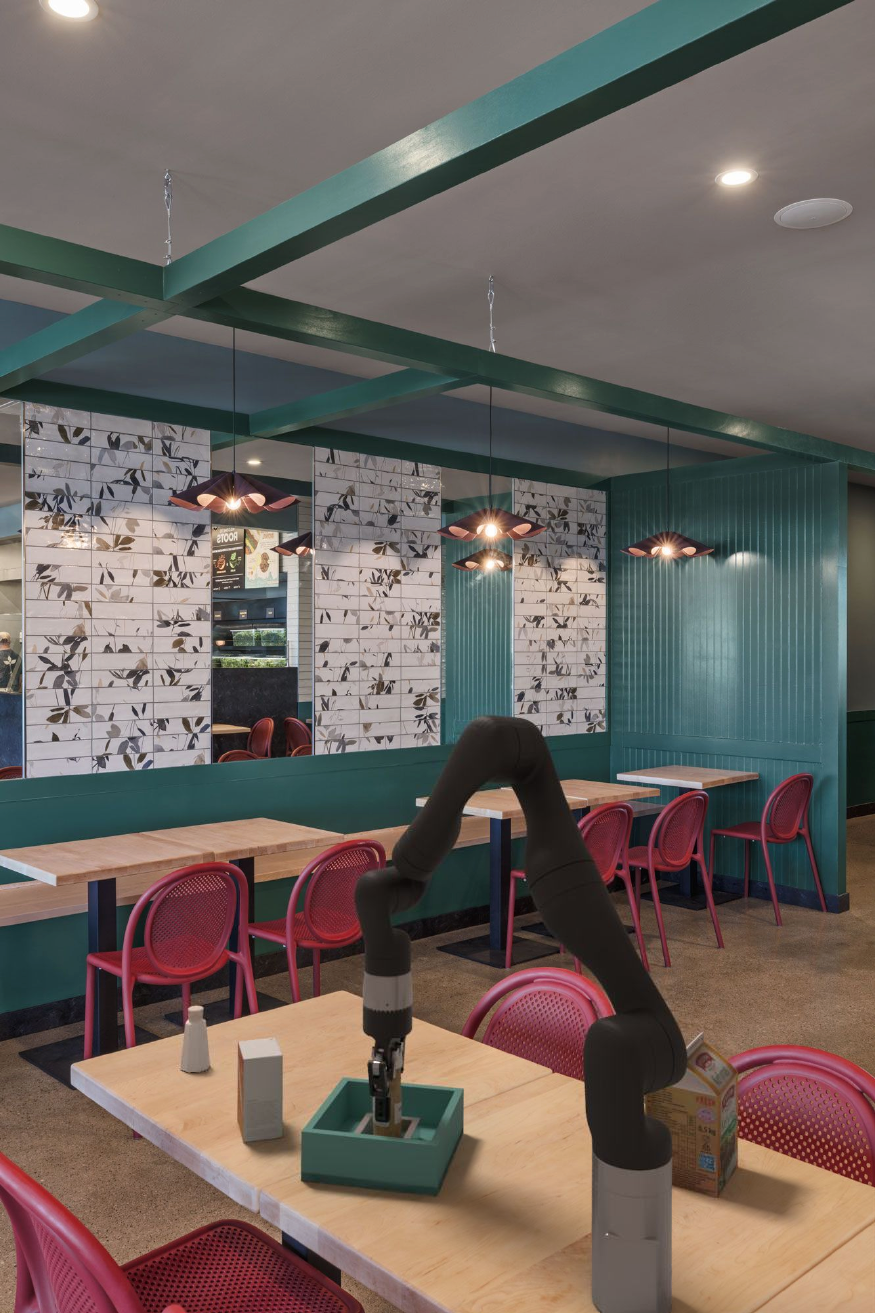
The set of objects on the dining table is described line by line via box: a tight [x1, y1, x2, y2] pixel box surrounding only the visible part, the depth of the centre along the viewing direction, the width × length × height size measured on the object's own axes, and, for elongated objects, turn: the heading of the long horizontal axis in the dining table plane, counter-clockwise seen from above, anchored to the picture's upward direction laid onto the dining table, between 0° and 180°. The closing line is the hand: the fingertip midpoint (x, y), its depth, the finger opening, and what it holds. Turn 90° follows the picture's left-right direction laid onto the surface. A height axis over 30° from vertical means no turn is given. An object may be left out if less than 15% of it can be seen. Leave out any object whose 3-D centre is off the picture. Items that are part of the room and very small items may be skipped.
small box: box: [236, 1037, 284, 1143], centre depth 162 cm, size 8×6×13 cm
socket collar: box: [354, 1113, 421, 1140], centre depth 154 cm, size 9×9×3 cm
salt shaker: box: [179, 1005, 211, 1074], centre depth 187 cm, size 5×5×11 cm
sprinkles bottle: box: [371, 1052, 402, 1138], centre depth 154 cm, size 5×5×14 cm
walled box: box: [300, 1076, 465, 1197], centre depth 154 cm, size 20×20×7 cm
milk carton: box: [644, 1031, 739, 1199], centre depth 149 cm, size 11×11×19 cm
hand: (387, 1113), depth 154 cm, fingers closed on sprinkles bottle, 4 cm apart
